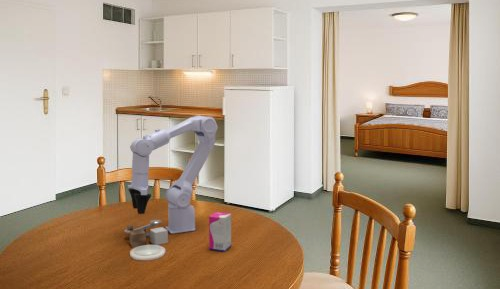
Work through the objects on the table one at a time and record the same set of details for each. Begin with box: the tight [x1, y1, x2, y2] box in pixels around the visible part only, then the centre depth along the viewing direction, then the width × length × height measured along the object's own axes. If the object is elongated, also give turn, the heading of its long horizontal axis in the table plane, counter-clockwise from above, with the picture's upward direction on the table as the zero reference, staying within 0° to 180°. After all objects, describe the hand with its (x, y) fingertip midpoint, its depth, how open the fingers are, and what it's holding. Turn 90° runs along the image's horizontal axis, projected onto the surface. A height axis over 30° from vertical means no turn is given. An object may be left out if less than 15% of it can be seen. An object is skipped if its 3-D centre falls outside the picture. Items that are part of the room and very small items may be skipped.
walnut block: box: [128, 229, 147, 249], centre depth 153 cm, size 4×4×4 cm
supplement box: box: [208, 211, 232, 253], centre depth 150 cm, size 6×6×12 cm
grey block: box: [149, 226, 169, 246], centre depth 155 cm, size 4×4×4 cm
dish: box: [129, 244, 166, 262], centre depth 145 cm, size 11×11×1 cm
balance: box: [124, 219, 162, 239], centre depth 161 cm, size 13×4×5 cm, turn 116°
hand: (138, 211), depth 159 cm, fingers open, 7 cm apart
